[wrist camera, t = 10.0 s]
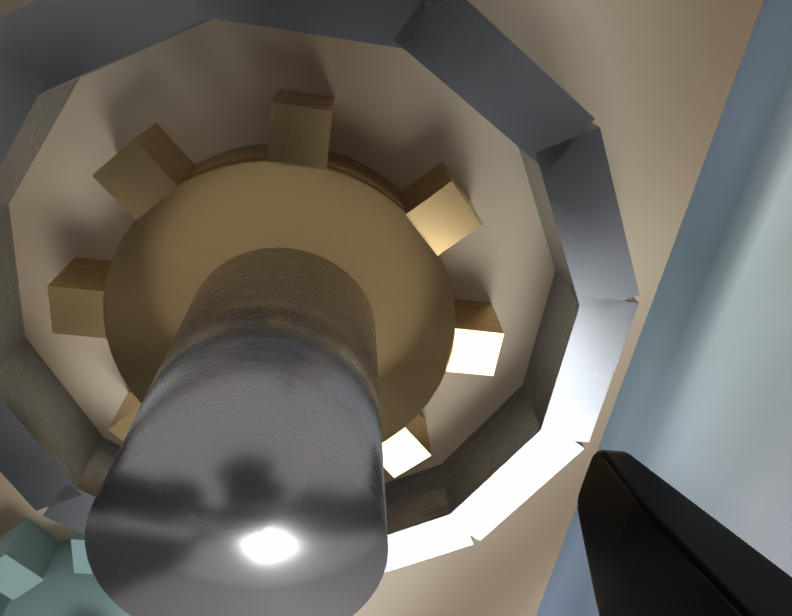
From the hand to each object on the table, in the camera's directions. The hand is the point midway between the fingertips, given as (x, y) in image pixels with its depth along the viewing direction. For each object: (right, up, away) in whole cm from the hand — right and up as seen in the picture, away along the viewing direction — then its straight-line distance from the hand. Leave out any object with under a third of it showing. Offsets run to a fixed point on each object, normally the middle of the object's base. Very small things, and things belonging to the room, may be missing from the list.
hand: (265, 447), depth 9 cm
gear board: (-1, +1, +6) cm, 6 cm away
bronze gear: (0, +2, +4) cm, 4 cm away
